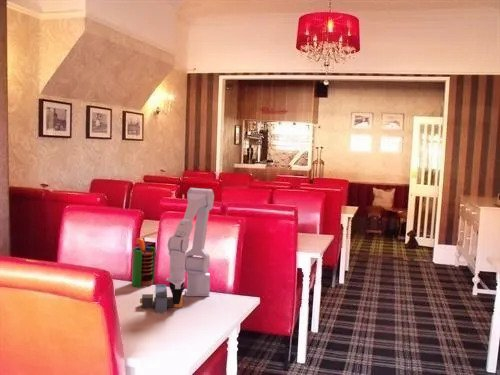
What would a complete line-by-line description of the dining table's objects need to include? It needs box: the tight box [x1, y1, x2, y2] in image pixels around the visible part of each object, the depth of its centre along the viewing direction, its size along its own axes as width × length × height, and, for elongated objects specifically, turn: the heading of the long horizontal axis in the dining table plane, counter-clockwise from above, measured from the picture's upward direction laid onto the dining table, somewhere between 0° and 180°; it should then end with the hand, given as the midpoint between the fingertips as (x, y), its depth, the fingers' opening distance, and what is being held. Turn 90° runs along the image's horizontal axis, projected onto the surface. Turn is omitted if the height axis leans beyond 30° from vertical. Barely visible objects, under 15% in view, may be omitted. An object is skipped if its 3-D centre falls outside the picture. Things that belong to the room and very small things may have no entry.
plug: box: [139, 293, 183, 309], centre depth 183 cm, size 16×4×4 cm, turn 102°
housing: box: [154, 283, 168, 313], centre depth 183 cm, size 4×14×6 cm, turn 11°
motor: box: [131, 237, 156, 288], centre depth 210 cm, size 10×9×20 cm
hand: (176, 302), depth 184 cm, fingers closed on plug, 3 cm apart
